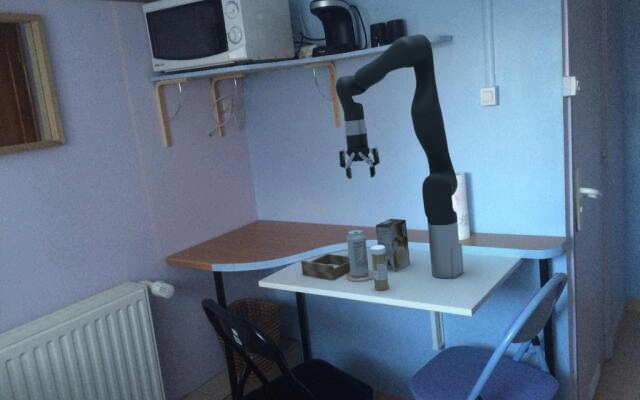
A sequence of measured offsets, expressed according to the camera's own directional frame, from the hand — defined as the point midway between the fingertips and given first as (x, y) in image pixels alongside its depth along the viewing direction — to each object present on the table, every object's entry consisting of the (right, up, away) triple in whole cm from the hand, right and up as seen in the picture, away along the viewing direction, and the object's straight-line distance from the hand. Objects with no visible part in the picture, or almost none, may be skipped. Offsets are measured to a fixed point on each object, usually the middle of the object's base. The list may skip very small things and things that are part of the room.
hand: (361, 177), depth 200 cm
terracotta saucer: (-1, -33, -15) cm, 37 cm away
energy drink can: (-2, -33, -15) cm, 37 cm away
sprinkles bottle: (+4, -36, -27) cm, 45 cm away
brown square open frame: (-11, -33, -6) cm, 35 cm away
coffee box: (+11, -31, -9) cm, 34 cm away
